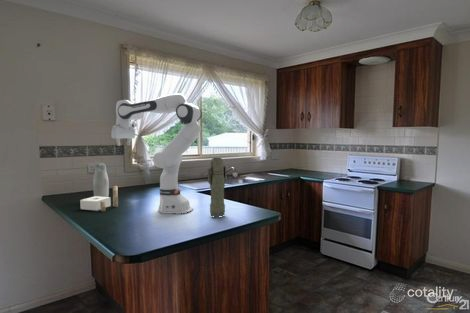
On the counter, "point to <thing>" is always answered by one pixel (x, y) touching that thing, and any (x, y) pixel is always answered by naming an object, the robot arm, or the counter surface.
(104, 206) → the short pin
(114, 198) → the long pin
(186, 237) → the counter surface
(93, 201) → the hole block
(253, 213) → the counter surface
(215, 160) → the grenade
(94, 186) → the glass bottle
